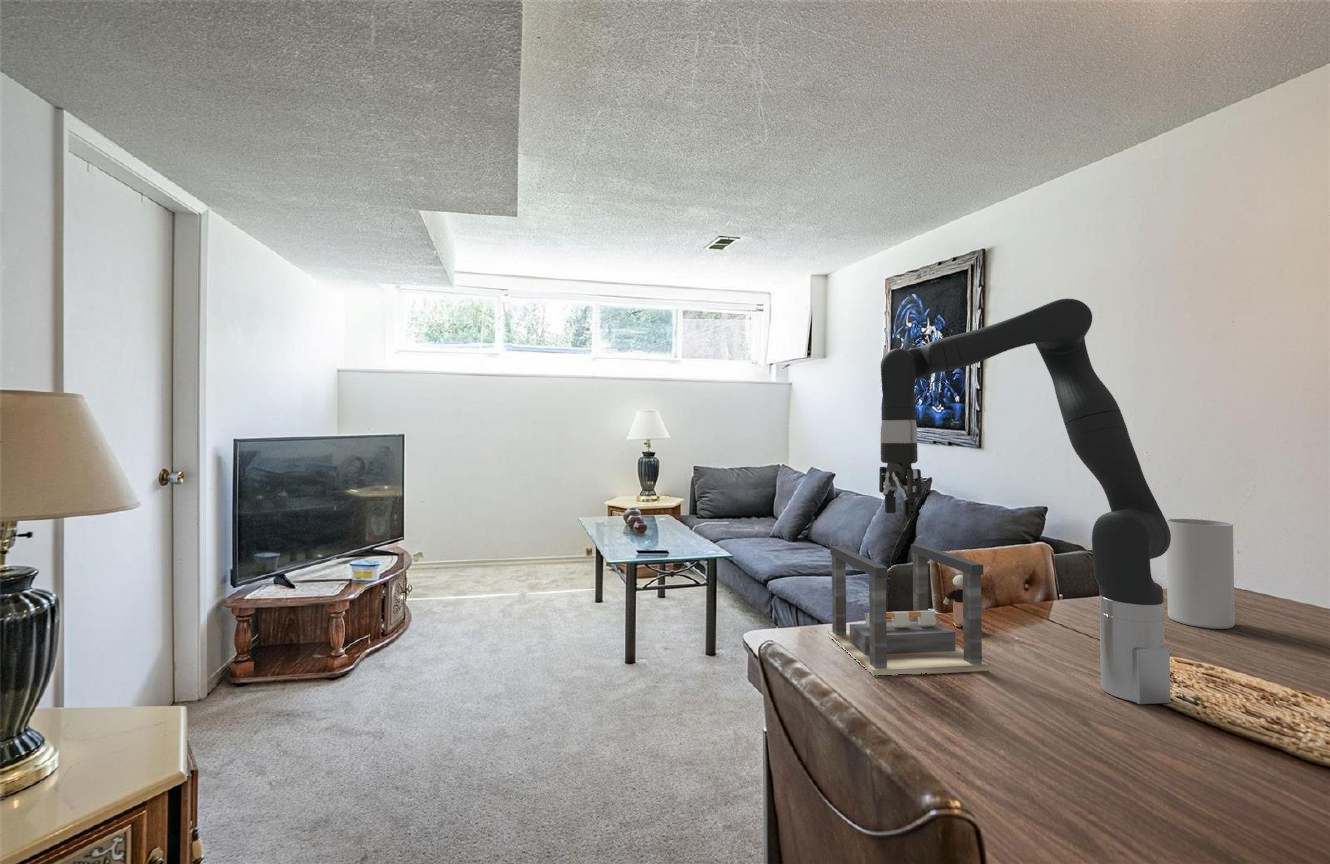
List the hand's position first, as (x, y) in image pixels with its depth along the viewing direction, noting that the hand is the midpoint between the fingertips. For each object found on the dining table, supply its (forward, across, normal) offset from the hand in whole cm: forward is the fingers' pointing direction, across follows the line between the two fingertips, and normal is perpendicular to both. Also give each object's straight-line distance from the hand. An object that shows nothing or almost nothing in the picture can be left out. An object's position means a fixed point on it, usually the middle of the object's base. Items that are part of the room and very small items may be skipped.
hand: (899, 515), depth 131 cm
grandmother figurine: (+30, +15, -23) cm, 41 cm away
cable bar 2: (+10, 0, -10) cm, 15 cm away
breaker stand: (+30, 0, 0) cm, 30 cm away
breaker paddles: (+24, 0, 0) cm, 24 cm away
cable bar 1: (+10, 0, +10) cm, 14 cm away
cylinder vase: (+30, +11, -84) cm, 90 cm away
